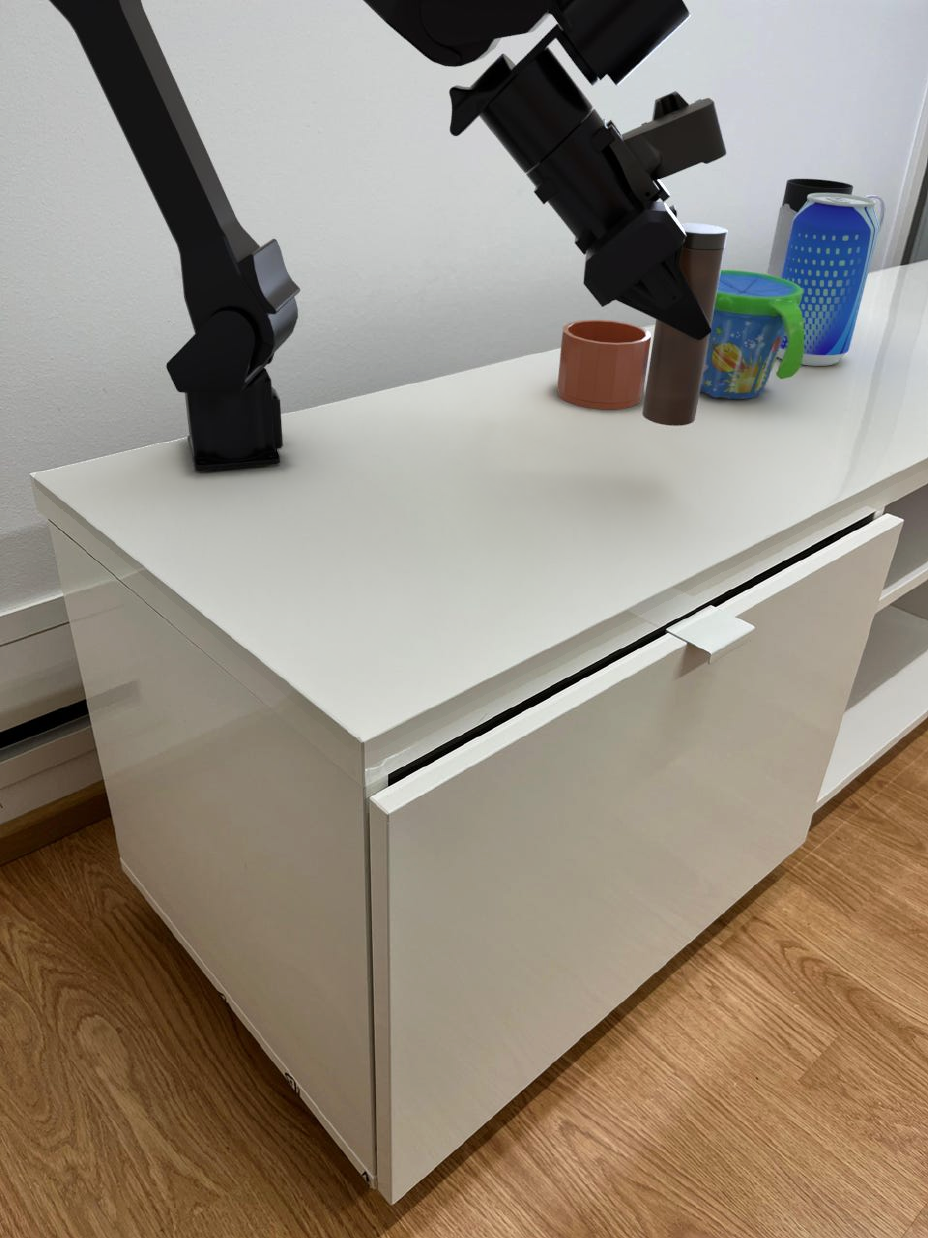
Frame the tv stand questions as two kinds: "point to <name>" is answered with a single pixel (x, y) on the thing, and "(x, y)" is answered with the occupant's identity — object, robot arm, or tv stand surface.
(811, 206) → the beer can
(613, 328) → the terracotta cup
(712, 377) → the snack cup
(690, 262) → the brown thermos bottle
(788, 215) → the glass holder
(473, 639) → the tv stand surface
